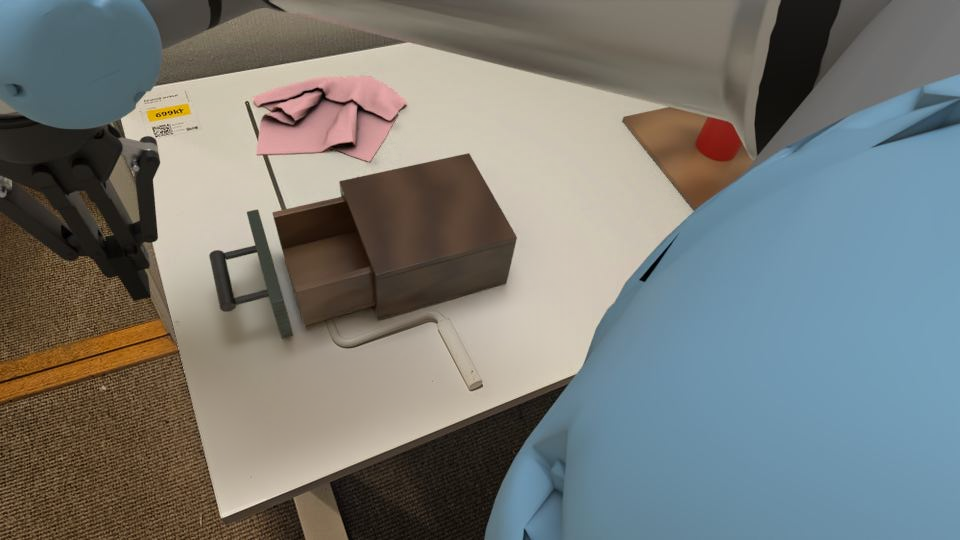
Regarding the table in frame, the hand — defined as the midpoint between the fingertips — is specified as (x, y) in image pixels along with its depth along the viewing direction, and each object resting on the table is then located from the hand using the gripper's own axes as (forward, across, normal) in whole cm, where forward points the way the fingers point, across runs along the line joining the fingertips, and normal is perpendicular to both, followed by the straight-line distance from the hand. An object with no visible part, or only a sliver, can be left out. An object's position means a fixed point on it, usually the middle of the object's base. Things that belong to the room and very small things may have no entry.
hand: (141, 287), depth 59 cm
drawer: (+6, -16, 0) cm, 17 cm away
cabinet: (+7, -29, 0) cm, 30 cm away
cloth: (+7, -24, -28) cm, 37 cm away
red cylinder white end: (+6, -76, -5) cm, 76 cm away
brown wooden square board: (+7, -76, -5) cm, 77 cm away
